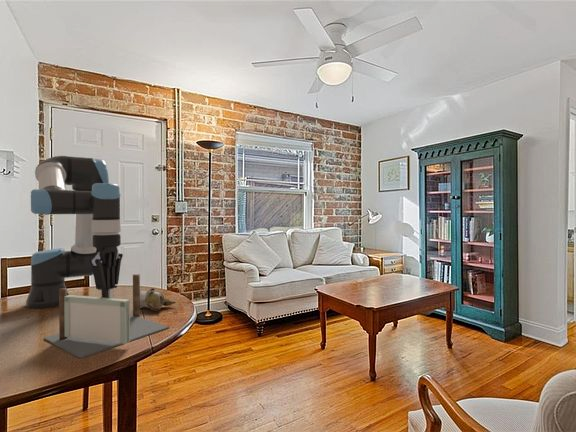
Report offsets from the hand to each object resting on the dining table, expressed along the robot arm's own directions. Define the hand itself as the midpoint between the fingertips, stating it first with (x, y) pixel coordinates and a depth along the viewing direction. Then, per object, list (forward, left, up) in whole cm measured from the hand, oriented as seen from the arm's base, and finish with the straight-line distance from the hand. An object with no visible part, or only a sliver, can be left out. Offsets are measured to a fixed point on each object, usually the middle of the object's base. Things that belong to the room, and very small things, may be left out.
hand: (107, 309), depth 100 cm
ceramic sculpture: (-18, +28, -10) cm, 35 cm away
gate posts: (-13, +5, -10) cm, 17 cm away
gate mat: (-6, +3, -10) cm, 12 cm away
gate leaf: (0, -3, -8) cm, 9 cm away
